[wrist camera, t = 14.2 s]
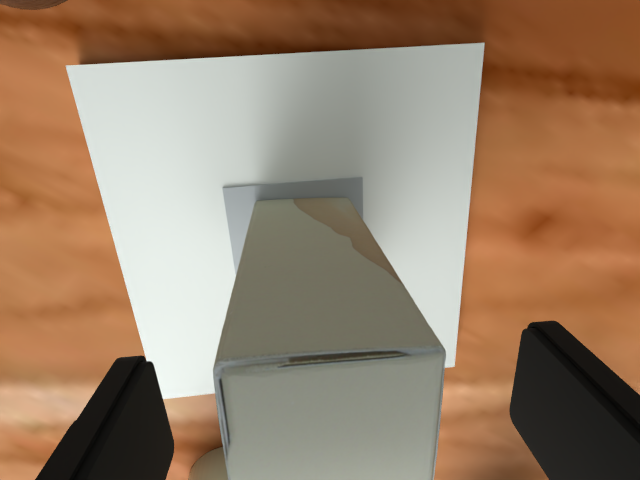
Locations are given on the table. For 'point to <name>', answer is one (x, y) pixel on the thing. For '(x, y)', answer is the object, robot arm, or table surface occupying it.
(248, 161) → the white square plate
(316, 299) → the box
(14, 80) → the table surface
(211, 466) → the pale green capsule
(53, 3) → the dark tin
